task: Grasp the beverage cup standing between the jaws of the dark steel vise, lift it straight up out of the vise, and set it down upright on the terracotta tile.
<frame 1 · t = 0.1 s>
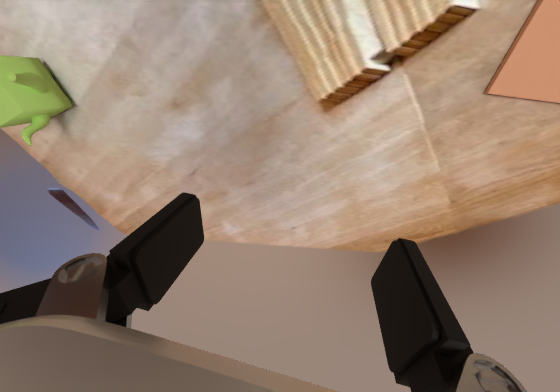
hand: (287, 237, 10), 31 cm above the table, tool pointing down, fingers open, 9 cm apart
kettle: (54, 94, 44), on the table
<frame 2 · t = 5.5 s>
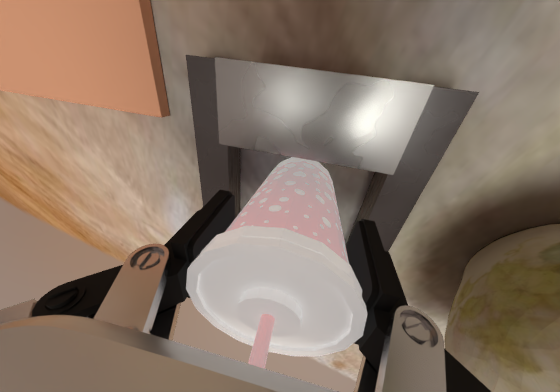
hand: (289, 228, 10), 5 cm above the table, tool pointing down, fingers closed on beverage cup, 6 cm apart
beverage cup: (300, 186, 14), resting in vise, touching gripper
vise: (299, 187, 14), on the table
sugar bowl: (529, 268, 14), on the table
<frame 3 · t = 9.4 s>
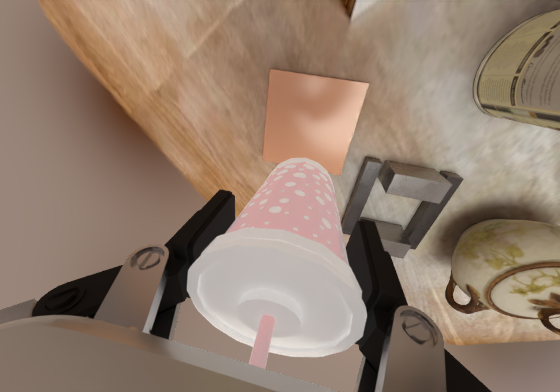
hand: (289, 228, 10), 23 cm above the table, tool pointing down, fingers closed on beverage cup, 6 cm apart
coffee can: (526, 69, 23), on the table
terracotta tile: (308, 126, 30), on the table
beverage cup: (300, 186, 14), point 19 cm above the table, touching gripper
vise: (390, 203, 34), on the table
sugar bowl: (486, 237, 34), on the table
when the fingers open (7 cm above the table, at t = 13.6 s): beverage cup drops 1 cm, resting on terracotta tile.
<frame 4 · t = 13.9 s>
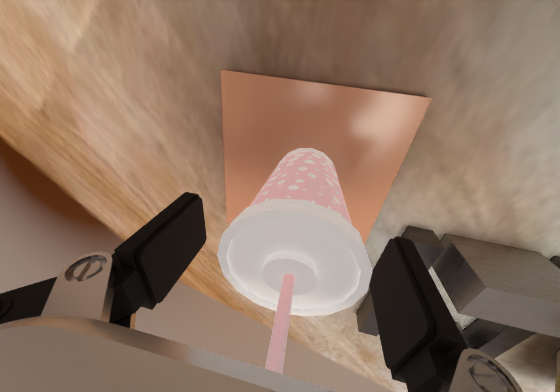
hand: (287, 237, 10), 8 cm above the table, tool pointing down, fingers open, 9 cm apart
terracotta tile: (303, 173, 16), on the table
beverage cup: (305, 175, 16), point 1 cm above the table, touching terracotta tile
vise: (444, 293, 20), on the table
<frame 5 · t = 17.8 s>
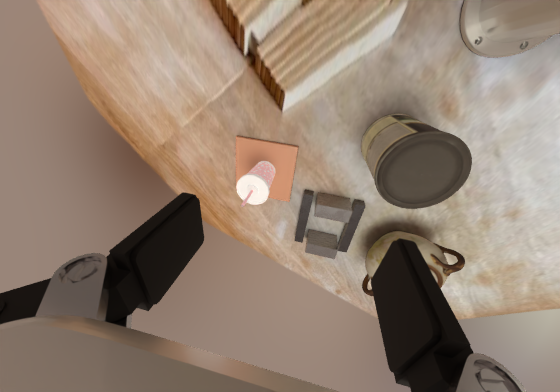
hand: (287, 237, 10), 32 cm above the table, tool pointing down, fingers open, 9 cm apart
coffee can: (389, 142, 37), on the table
terracotta tile: (265, 169, 44), on the table
beverage cup: (265, 170, 44), point 1 cm above the table, touching terracotta tile
vise: (326, 219, 48), on the table
sugar bowl: (394, 244, 48), on the table
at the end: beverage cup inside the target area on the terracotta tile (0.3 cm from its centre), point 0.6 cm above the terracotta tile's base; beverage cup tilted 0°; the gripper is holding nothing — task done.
